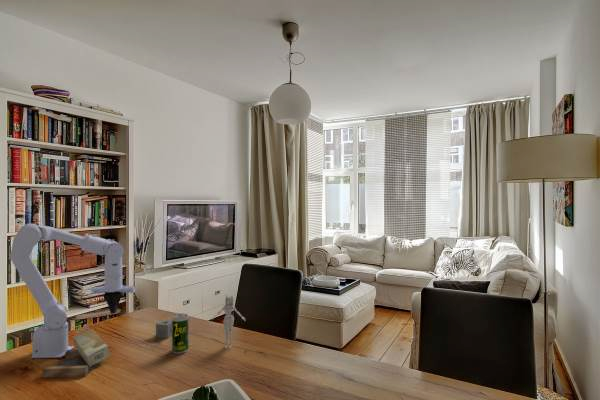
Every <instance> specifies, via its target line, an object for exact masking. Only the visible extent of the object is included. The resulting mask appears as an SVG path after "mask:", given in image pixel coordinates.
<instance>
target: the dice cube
mask: <svg viewBox="0 0 600 400" xmlns="http://www.w3.org/2000/svg"><path fill="white" fill-rule="evenodd" d="M155 337H156V338H159V339H160V338H161V339H169V338H172V319H162V320H160V321H159V322H157V323H156V324H155Z"/></svg>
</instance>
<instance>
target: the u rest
mask: <svg viewBox="0 0 600 400" xmlns="http://www.w3.org/2000/svg"><path fill="white" fill-rule="evenodd" d="M64 356H65V358H64V359H63V360H62V361H60V362H59V363H58V364H57V365H54V366H53V365H52V366H51V365H50V366H44V367H43V368H42V378H71V377H72V378H75V377H79V378H80V377H87V376H88V375H89V374H90V373H91V372H92V371H93V370H94V369H95V368H96V367H97V366H98V365H99V364H100V363H101V362H102V361H100V362H98V363H96V364H94V365H92V366H90V367H89V365H88V364H87V363H86V361H85V360H84V359H83V357H82V356H81V355H80V353H79V352H78V350H77V349H71V350H67V351H66V352H65V355H64Z"/></svg>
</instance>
